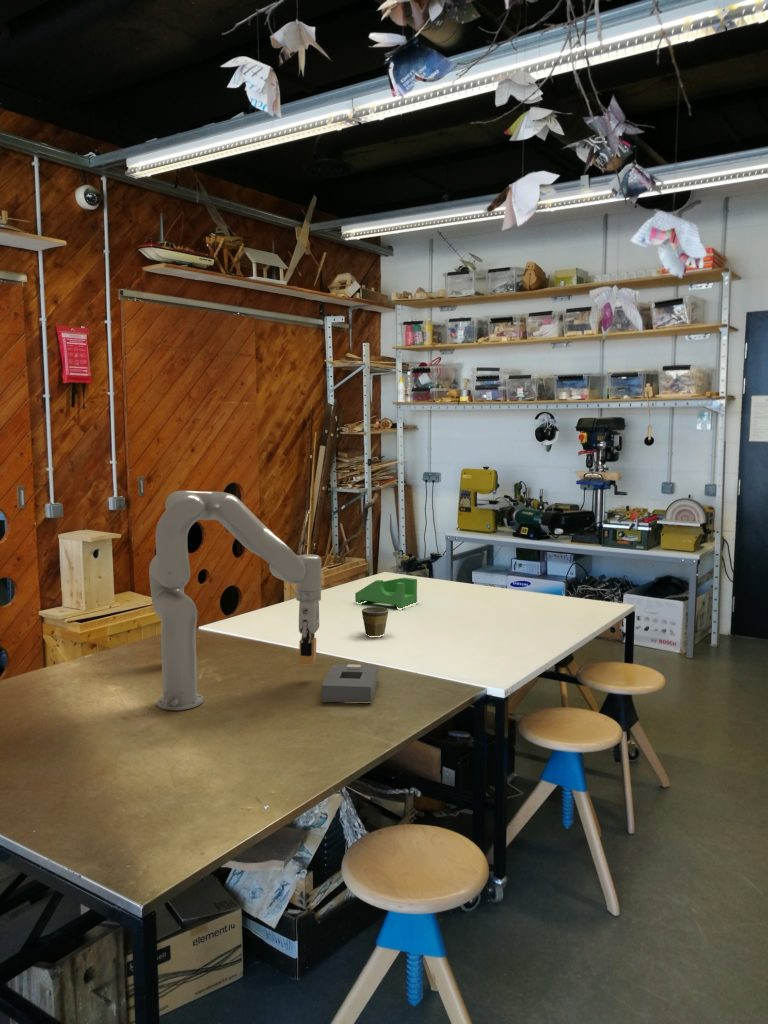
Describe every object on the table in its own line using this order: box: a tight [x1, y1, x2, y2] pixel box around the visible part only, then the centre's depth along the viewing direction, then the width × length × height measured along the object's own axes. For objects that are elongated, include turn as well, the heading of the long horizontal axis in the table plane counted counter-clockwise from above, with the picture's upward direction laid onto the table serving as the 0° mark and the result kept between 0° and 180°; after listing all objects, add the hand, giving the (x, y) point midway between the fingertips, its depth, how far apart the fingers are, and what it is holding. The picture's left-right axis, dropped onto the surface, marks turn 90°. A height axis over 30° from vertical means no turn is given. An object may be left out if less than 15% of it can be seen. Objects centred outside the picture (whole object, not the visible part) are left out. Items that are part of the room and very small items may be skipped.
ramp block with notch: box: [354, 577, 418, 608], centre depth 340 cm, size 24×13×12 cm, turn 58°
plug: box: [298, 632, 317, 665], centre depth 236 cm, size 4×4×9 cm
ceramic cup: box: [361, 606, 389, 636], centre depth 290 cm, size 13×10×10 cm
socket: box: [321, 663, 379, 703], centre depth 227 cm, size 20×14×6 cm
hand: (307, 652), depth 236 cm, fingers closed on plug, 4 cm apart
